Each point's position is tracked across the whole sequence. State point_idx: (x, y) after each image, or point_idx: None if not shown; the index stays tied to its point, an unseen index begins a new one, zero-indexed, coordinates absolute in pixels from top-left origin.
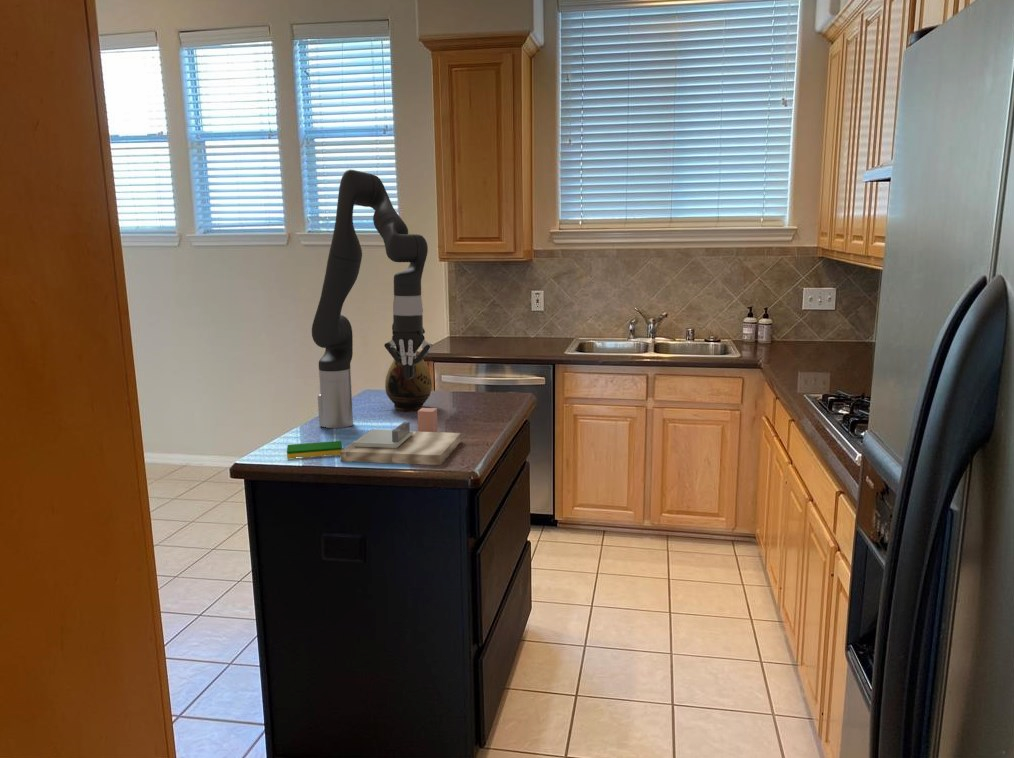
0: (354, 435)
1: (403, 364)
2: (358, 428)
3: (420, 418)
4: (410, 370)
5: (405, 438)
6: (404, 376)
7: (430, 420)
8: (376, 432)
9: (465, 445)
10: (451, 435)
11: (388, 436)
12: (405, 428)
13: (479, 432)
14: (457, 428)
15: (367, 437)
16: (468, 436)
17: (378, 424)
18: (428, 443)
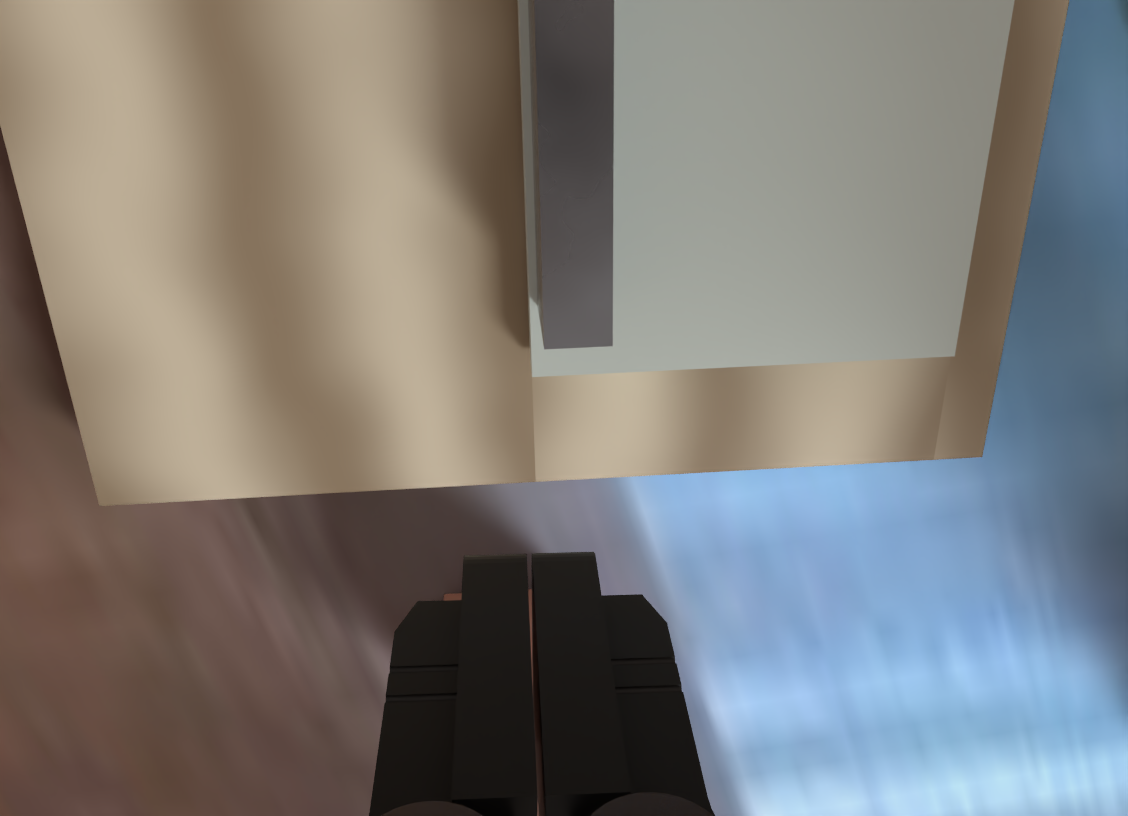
0: (1103, 487)
1: (671, 805)
2: (1103, 667)
3: None
4: (459, 717)
5: (522, 119)
6: (618, 599)
7: None
8: (884, 245)
9: (32, 366)
10: (146, 410)
11: (713, 101)
12: (537, 184)
13: (107, 734)
14: (331, 796)
15: (936, 18)
16: (142, 621)
17: (970, 782)
18: (245, 75)
